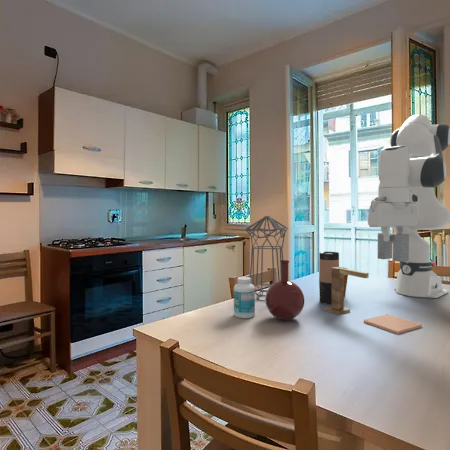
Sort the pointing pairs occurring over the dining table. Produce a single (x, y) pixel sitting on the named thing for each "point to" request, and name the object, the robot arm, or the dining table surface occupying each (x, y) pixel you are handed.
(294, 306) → the round-bottom flask
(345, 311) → the stand
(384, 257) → the brushed grey metal block
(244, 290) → the pill bottle
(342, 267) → the disposable coffee cup
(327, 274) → the travel mug
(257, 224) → the geometric lantern
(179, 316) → the dining table surface
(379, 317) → the tile
